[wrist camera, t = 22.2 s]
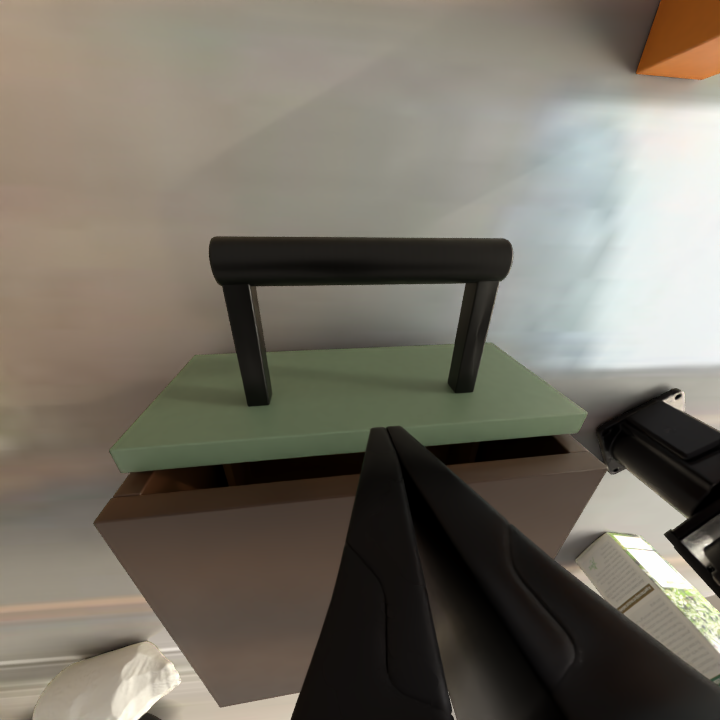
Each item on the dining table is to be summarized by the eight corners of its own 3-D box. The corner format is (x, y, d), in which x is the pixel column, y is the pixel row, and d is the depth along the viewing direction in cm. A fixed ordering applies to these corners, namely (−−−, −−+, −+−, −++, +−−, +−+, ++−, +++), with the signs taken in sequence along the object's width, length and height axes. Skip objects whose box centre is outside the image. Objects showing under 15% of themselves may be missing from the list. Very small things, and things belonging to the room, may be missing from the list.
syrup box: (572, 560, 32) (738, 786, 19) (606, 529, 30) (821, 762, 17) (607, 562, 34) (783, 774, 21) (642, 533, 31) (865, 750, 19)
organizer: (208, 366, 15) (91, 523, 8) (477, 353, 17) (609, 467, 9) (254, 537, 23) (219, 708, 15) (440, 514, 25) (497, 655, 17)
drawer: (158, 229, 11) (-8, 241, 6) (519, 232, 13) (671, 244, 8) (249, 542, 21) (223, 662, 16) (447, 518, 23) (489, 617, 17)
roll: (212, 638, 30) (190, 723, 25) (108, 671, 30) (66, 761, 25) (177, 616, 27) (145, 707, 22) (64, 652, 27) (7, 750, 22)
